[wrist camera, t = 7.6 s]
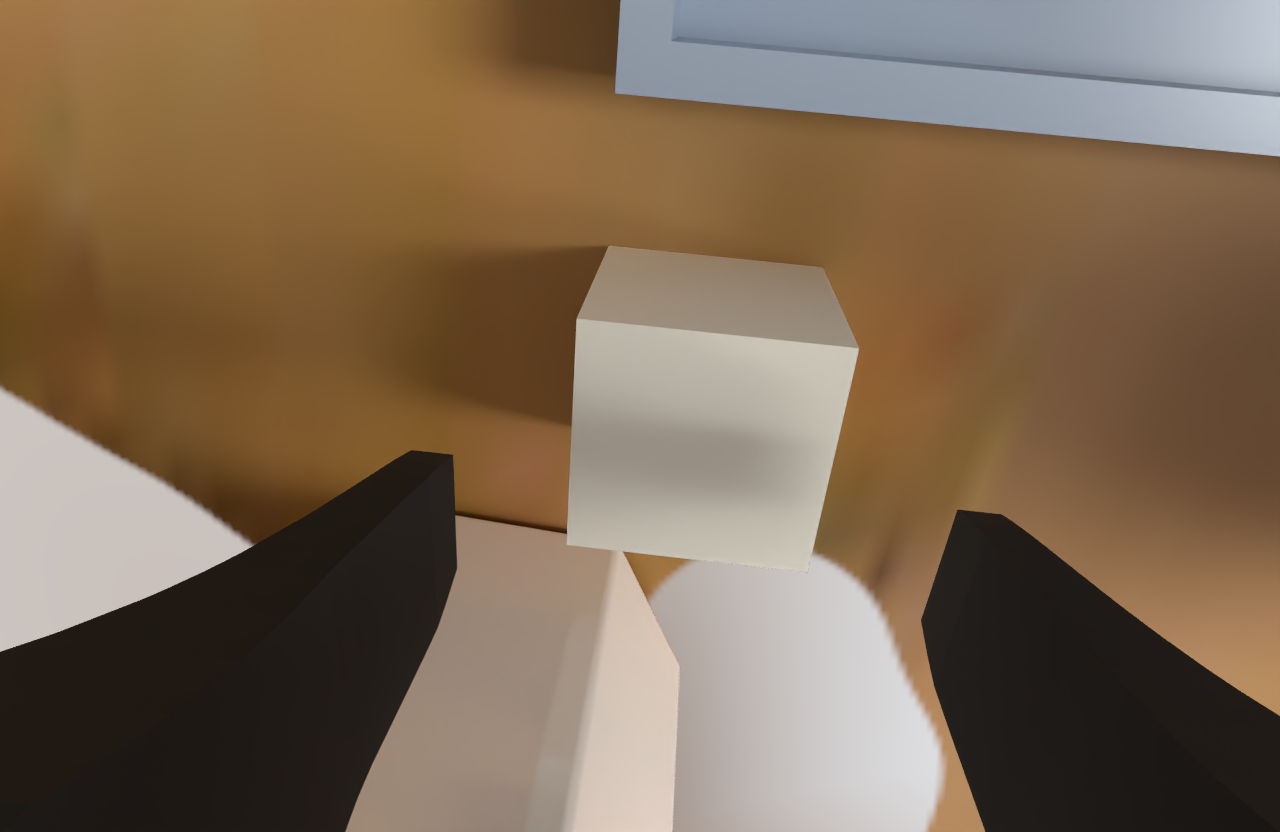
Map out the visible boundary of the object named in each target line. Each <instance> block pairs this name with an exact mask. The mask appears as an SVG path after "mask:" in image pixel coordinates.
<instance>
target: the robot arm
mask: <svg viewBox="0 0 1280 832" xmlns="http://www.w3.org/2000/svg"><path fill="white" fill-rule="evenodd" d="M456 571H457V547H456V520H455V494H454V468H453V455H450V454H441V453H432V452H422V451H413V450H411V451H409V452H407V453H406V454H404V455H402V456H400V457H399V458H397V459H395V460H394V461H392V462H391V463H389V464H387V465H386V466H384V467H383V468H381V469H380V470H378V471H376V472H375V473H373V474H372V475H370V476H369V477H367V478H366V479H364V480H363V481H361V482H359V483H358V484H356V485H355V486H353V487H352V488H350V489H349V490H347V491H345V492H344V493H342V494H341V495H339V496H337V497H336V498H334V499H333V500H331V501H329V502H328V503H326V504H325V505H323V506H321V507H320V508H318V509H317V510H315V511H313V512H312V513H310V514H309V515H307V516H305V517H304V518H302V519H300V520H298V521H297V522H295V523H293V524H291V525H289V526H288V527H286V528H284V529H282V530H281V531H279V532H277V533H275V534H274V535H272V536H270V537H268V538H267V539H265V540H263V541H261V542H259V543H258V544H256V545H254V546H252V547H251V548H249V549H247V550H245V551H244V552H242V553H240V554H238V555H236V556H234V557H232V558H230V559H228V560H226V561H225V562H222V563H220V564H218V565H216V566H214V567H212V568H210V569H208V570H206V571H205V572H202V573H200V574H198V575H196V576H194V577H191V578H189V579H187V580H185V581H183V582H181V583H178V584H176V585H174V586H172V587H170V588H168V589H165V590H163V591H161V592H159V593H156V594H154V595H152V596H149V597H147V598H145V599H142V600H140V601H137V602H134V603H132V604H130V605H127V606H124V607H122V608H119V609H117V610H114V611H111V612H109V613H106V614H104V615H101V616H99V617H96V618H93V619H91V620H88V621H86V622H83V623H81V624H78V625H75V626H73V627H70V628H68V629H65V630H63V631H60V632H57V633H55V634H52V635H49V636H46V637H43V638H40V639H37V640H34V641H31V642H28V643H25V644H23V645H20V646H16V647H13V648H10V649H7V650H4V651H1V652H0V832H345V831H346V829H347V826H348V823H349V820H350V818H351V815H352V812H353V810H354V807H355V804H356V801H357V799H358V796H359V794H360V792H361V789H362V787H363V785H364V782H365V780H366V778H367V775H368V773H369V771H370V768H371V766H372V764H373V762H374V760H375V758H376V756H377V754H378V752H379V749H380V747H381V745H382V743H383V741H384V739H385V737H386V735H387V733H388V731H389V729H390V727H391V725H392V723H393V721H394V719H395V716H396V714H397V712H398V710H399V708H400V706H401V704H402V702H403V700H404V698H405V696H406V694H407V692H408V690H409V688H410V686H411V683H412V681H413V679H414V677H415V675H416V673H417V671H418V669H419V667H420V665H421V663H422V661H423V658H424V656H425V654H426V652H427V650H428V648H429V646H430V644H431V642H432V639H433V637H434V635H435V633H436V631H437V629H438V626H439V623H440V620H441V617H442V614H443V611H444V608H445V605H446V602H447V599H448V596H449V593H450V590H451V587H452V583H453V580H454V577H455V574H456ZM921 622H922V628H923V633H924V639H925V644H926V649H927V655H928V660H929V664H930V669H931V673H932V678H933V682H934V686H935V689H936V693H937V696H938V699H939V702H940V705H941V707H942V710H943V713H944V716H945V719H946V722H947V725H948V728H949V731H950V733H951V736H952V739H953V742H954V745H955V748H956V750H957V753H958V756H959V759H960V762H961V764H962V767H963V770H964V773H965V776H966V778H967V781H968V784H969V787H970V790H971V792H972V795H973V798H974V801H975V804H976V807H977V809H978V812H979V815H980V818H981V821H982V823H983V826H984V829H985V832H1280V716H1279V715H1277V714H1276V713H1274V712H1273V711H1271V710H1269V709H1268V708H1266V707H1265V706H1263V705H1261V704H1260V703H1258V702H1257V701H1255V700H1253V699H1252V698H1250V697H1249V696H1247V695H1245V694H1244V693H1242V692H1241V691H1239V690H1238V689H1236V688H1235V687H1233V686H1232V685H1230V684H1229V683H1227V682H1226V681H1224V680H1223V679H1221V678H1220V677H1218V676H1217V675H1215V674H1214V673H1212V672H1211V671H1209V670H1208V669H1206V668H1205V667H1203V666H1202V665H1201V664H1199V663H1198V662H1196V661H1195V660H1194V659H1192V658H1191V657H1189V656H1188V655H1187V654H1185V653H1184V652H1182V651H1181V650H1180V649H1178V648H1177V647H1175V646H1174V645H1173V644H1171V643H1170V642H1168V641H1167V640H1166V639H1164V638H1163V637H1161V636H1160V635H1159V634H1157V633H1156V632H1155V631H1153V630H1152V629H1151V628H1149V627H1148V626H1147V625H1145V624H1144V623H1142V622H1141V621H1140V620H1138V619H1137V618H1136V617H1134V616H1133V615H1132V614H1131V613H1129V612H1128V611H1127V610H1125V609H1124V608H1123V607H1121V606H1120V605H1119V604H1118V603H1116V602H1115V601H1114V600H1112V599H1111V598H1110V597H1109V596H1107V595H1106V594H1105V593H1103V592H1102V591H1101V590H1100V589H1098V588H1097V587H1096V586H1095V585H1093V584H1092V583H1091V582H1089V581H1088V580H1087V579H1086V578H1084V577H1083V576H1082V575H1081V574H1079V573H1078V572H1077V571H1076V570H1074V569H1073V568H1072V567H1071V566H1069V565H1068V564H1067V563H1066V562H1064V561H1063V560H1062V559H1061V558H1059V557H1058V556H1057V555H1056V554H1054V553H1053V552H1052V551H1050V550H1049V549H1048V548H1047V547H1045V546H1044V545H1043V544H1042V543H1040V542H1039V541H1038V540H1036V539H1035V538H1034V537H1033V536H1031V535H1030V534H1029V533H1027V532H1026V531H1025V530H1023V529H1022V528H1021V527H1019V526H1018V525H1016V524H1015V523H1014V522H1012V521H1011V520H1009V519H1008V518H1006V517H1005V516H1003V515H1001V514H992V513H983V512H974V511H965V510H957V513H956V516H955V519H954V523H953V526H952V529H951V532H950V535H949V538H948V541H947V544H946V547H945V550H944V553H943V556H942V559H941V562H940V565H939V568H938V571H937V574H936V577H935V580H934V583H933V586H932V589H931V592H930V595H929V598H928V601H927V604H926V607H925V610H924V613H923V616H922V619H921Z"/></svg>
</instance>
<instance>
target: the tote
mask: <svg viewBox="0 0 1280 832" xmlns="http://www.w3.org/2000/svg"><path fill="white" fill-rule="evenodd" d="M615 93H616V94H627V95H637V96H648V97H658V98H669V99H680V100H690V101H701V102H711V103H722V104H732V105H743V106H753V107H764V108H775V109H785V110H796V111H806V112H817V113H827V114H838V115H848V116H859V117H870V118H880V119H891V120H901V121H912V122H922V123H933V124H943V125H954V126H965V127H975V128H986V129H996V130H1007V131H1017V132H1028V133H1038V134H1049V135H1060V136H1070V137H1081V138H1091V139H1102V140H1112V141H1123V142H1133V143H1144V144H1155V145H1165V146H1176V147H1186V148H1197V149H1207V150H1218V151H1228V152H1239V153H1250V154H1260V155H1271V156H1280V0H621V2H620V18H619V35H618V52H617V68H616V85H615Z"/></svg>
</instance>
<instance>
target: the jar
mask: <svg viewBox="0 0 1280 832" xmlns="http://www.w3.org/2000/svg"><path fill="white" fill-rule="evenodd" d="M455 520H456V547H457V571H456V574H455V577H454V580H453V583H452V587H451V590H450V593H449V596H448V599H447V602H446V605H445V608H444V611H443V614H442V617H441V620H440V623H439V626H438V629H437V631H436V633H435V635H434V637H433V639H432V642H431V644H430V646H429V648H428V650H427V652H426V654H425V656H424V658H423V661H422V663H421V665H420V667H419V669H418V671H417V673H416V675H415V677H414V679H413V681H412V683H411V686H410V688H409V690H408V692H407V694H406V696H405V698H404V700H403V702H402V704H401V706H400V708H399V710H398V712H397V714H396V716H395V719H394V721H393V723H392V725H391V727H390V729H389V731H388V733H387V735H386V737H385V739H384V741H383V743H382V745H381V747H380V749H379V752H378V754H377V756H376V758H375V760H374V762H373V764H372V766H371V768H370V771H369V773H368V775H367V778H366V780H365V782H364V785H363V787H362V789H361V792H360V794H359V796H358V799H357V801H356V804H355V807H354V810H353V812H352V815H351V818H350V820H349V823H348V826H347V829H346V831H345V832H673V811H674V789H675V767H676V743H677V722H678V721H677V720H678V700H679V677H680V676H679V675H680V667H679V664H678V662H677V660H676V658H675V656H674V654H673V652H672V650H671V648H670V646H669V644H668V642H667V639H666V637H665V635H664V634H663V631H662V629H661V627H660V626H659V623H658V621H657V619H656V617H655V615H654V613H653V611H652V609H651V607H650V605H649V603H648V601H647V599H646V597H645V595H644V593H643V591H642V589H641V587H640V585H639V583H638V581H637V579H636V577H635V575H634V573H633V571H632V569H631V566H630V564H629V562H628V560H627V558H626V556H625V554H624V552H623V551H615V550H606V549H598V548H589V547H581V546H572V545H566V544H567V534H565V533H559V532H553V531H547V530H541V529H535V528H529V527H523V526H517V525H511V524H505V523H499V522H493V521H487V520H481V519H475V518H469V517H463V516H458V515H455Z"/></svg>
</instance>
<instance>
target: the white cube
mask: <svg viewBox="0 0 1280 832" xmlns="http://www.w3.org/2000/svg"><path fill="white" fill-rule="evenodd" d="M858 352H859V347H858V344H857V342H856V340H855V338H854V336H853V333H852V331H851V329H850V327H849V324H848V322H847V320H846V318H845V315H844V313H843V311H842V309H841V306H840V304H839V302H838V300H837V297H836V295H835V293H834V291H833V288H832V286H831V284H830V282H829V280H828V277H827V275H826V273H825V271H824V268H823V267H815V266H806V265H796V264H786V263H776V262H766V261H757V260H747V259H737V258H727V257H717V256H707V255H698V254H688V253H678V252H668V251H658V250H648V249H639V248H629V247H619V246H608V249H607V251H606V253H605V255H604V258H603V260H602V262H601V264H600V267H599V269H598V271H597V273H596V276H595V278H594V280H593V283H592V285H591V287H590V289H589V292H588V294H587V296H586V298H585V301H584V303H583V305H582V308H581V310H580V312H579V314H578V317H577V321H576V344H575V366H574V388H573V410H572V433H571V455H570V477H569V500H568V522H567V544H566V545H572V546H581V547H589V548H598V549H606V550H615V551H624V552H632V553H641V554H650V555H658V556H667V557H676V558H684V559H693V560H702V561H710V562H719V563H728V564H736V565H745V566H754V567H762V568H771V569H779V570H788V571H797V572H805V573H807V572H808V567H809V564H810V559H811V555H812V551H813V546H814V542H815V538H816V533H817V529H818V525H819V520H820V516H821V512H822V507H823V503H824V499H825V494H826V490H827V486H828V481H829V477H830V473H831V468H832V464H833V460H834V456H835V451H836V447H837V443H838V438H839V434H840V430H841V425H842V421H843V417H844V412H845V408H846V404H847V399H848V395H849V391H850V386H851V382H852V378H853V373H854V369H855V365H856V360H857V356H858Z"/></svg>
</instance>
